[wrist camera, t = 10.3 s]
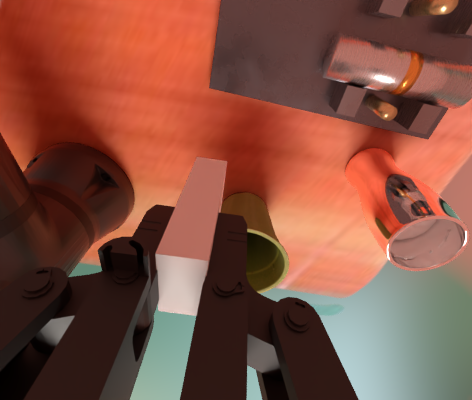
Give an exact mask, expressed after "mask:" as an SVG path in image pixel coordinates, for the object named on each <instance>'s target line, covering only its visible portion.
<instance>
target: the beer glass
mask: <svg viewBox="0 0 472 400" xmlns="http://www.w3.org/2000/svg"><path fill="white" fill-rule="evenodd" d="M345 174H346V179H347V181H348V182H349V183H350V184H351V185H352V186H353V187H354V188H355V189H356V190H357V191H358V194H359V197H360V202H361V206H362V210H363V214H364V217H365V220H366V223H367V225H368V227H369V229H370V231H371V233H372V234H373V236H374V238H375V239H376V241H377V242H378V244H379V245H380V247H381V248H382V250H383V251H384V253H385V254H386V256H387V257H388V259H389V261H390V262H391V263H392V264H393V265H395V266H396V267H399V268H401V269H404V270H409V271H424V270H430V269H434V268H437V267H440V266H443V265H445V264H447V263H449V262H451V261H452V260H454V259H455V258H457V257H458V256H459V255H460V254H461V253H462V252H463V251H464V249H465V248H466V247H467V245H468V243H469V239H470V232H469V229H468V227H467V226H466V224H465V223H464V222H462V221H461V219H460V218H459V217H458V216H457V215H456V213H455V212H454V211H453V210H452V208H451V207H450V206H449V205H448V204H447V203H446V202H445V201H444V200H443V199H442V198H441V197H440V196H439V195H438V194H437V193H436V192H435V191H434V190H433V189H431V188H430V187H429V186H427V185H426V184H424V183H423V182H421V181H420V180H418V179H417V178H415V177H413V176H411V175H409V174H408V173H406V172H404V171H402V170H401V169H399V168H398V167H397V166H396V165H395V162H394V160H393V158H392V156H391V155H390V154H389V153H388V152H387V151H385V150H383V149H379V148H370V149H366V150H363V151H361V152H359V153H357V154H356V155H355V156H353V157H352V158H351V160H350V161H349V162H348V164H347V167H346V171H345Z"/></svg>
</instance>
